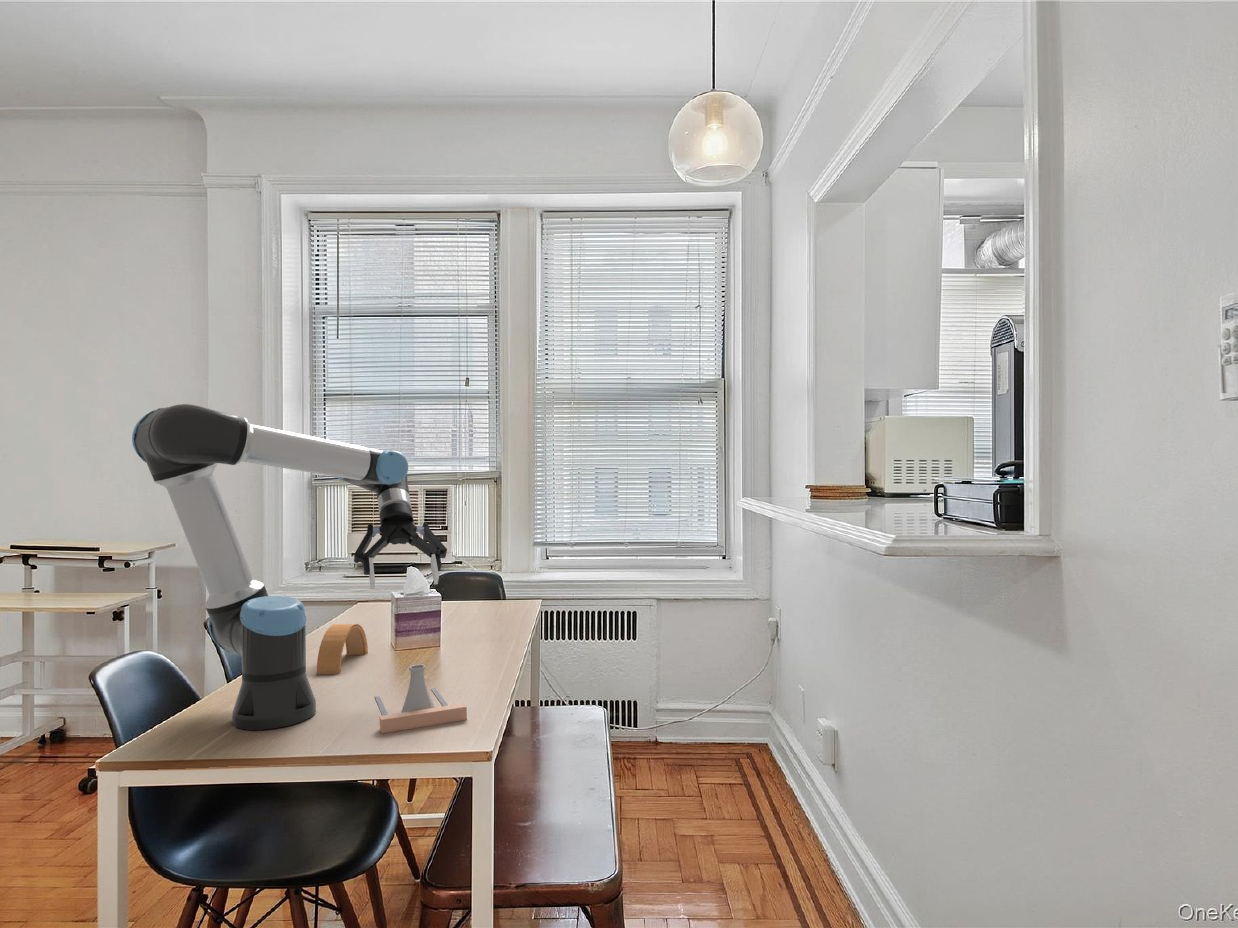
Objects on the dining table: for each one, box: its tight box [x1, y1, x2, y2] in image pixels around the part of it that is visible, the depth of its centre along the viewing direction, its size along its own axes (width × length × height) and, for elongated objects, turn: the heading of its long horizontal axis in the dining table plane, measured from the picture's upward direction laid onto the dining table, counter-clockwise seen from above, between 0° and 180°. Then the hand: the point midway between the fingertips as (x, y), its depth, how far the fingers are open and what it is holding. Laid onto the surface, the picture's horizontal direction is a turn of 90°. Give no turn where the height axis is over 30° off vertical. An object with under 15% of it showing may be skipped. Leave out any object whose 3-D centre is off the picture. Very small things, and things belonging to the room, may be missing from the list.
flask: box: [400, 664, 436, 713], centre depth 145 cm, size 7×7×10 cm
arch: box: [316, 623, 369, 675], centre depth 188 cm, size 6×20×10 cm, turn 179°
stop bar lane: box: [374, 687, 468, 734], centre depth 150 cm, size 16×24×2 cm
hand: (405, 582), depth 160 cm, fingers open, 13 cm apart
